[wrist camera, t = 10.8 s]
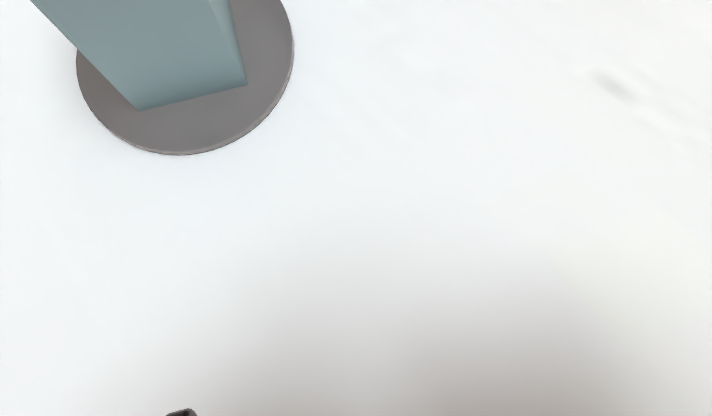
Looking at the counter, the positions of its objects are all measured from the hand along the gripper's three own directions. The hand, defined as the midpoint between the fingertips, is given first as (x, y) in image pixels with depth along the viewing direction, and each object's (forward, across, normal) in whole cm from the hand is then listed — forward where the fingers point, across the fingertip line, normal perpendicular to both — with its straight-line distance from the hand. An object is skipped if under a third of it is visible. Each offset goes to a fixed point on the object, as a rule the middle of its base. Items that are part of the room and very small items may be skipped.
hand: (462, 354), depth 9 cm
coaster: (+21, +6, -2) cm, 22 cm away
